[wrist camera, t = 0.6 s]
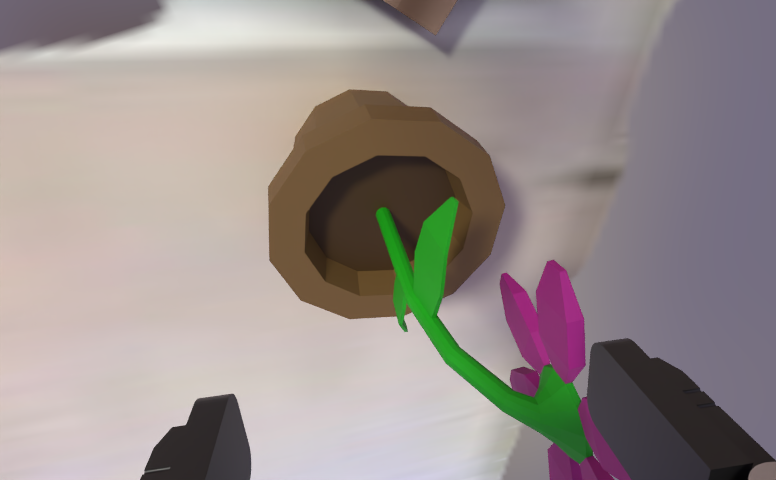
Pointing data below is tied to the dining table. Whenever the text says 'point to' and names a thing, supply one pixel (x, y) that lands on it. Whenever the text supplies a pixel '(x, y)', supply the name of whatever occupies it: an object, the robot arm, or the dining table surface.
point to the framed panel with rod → (425, 11)
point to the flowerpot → (427, 255)
